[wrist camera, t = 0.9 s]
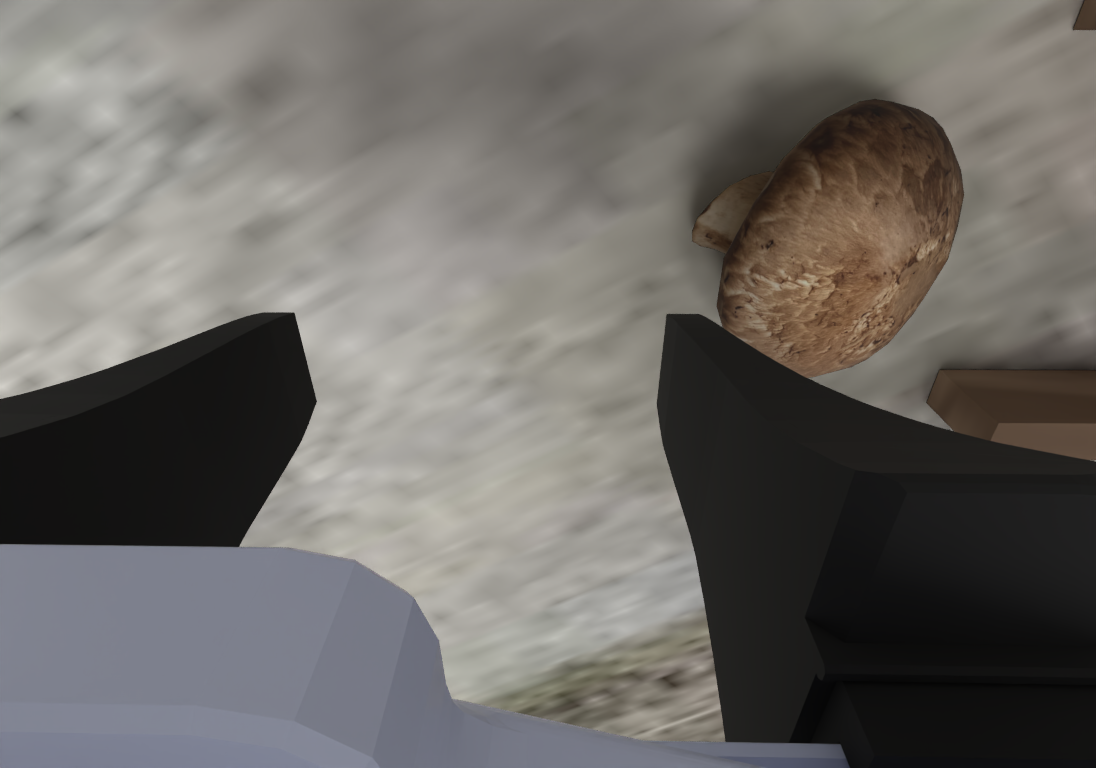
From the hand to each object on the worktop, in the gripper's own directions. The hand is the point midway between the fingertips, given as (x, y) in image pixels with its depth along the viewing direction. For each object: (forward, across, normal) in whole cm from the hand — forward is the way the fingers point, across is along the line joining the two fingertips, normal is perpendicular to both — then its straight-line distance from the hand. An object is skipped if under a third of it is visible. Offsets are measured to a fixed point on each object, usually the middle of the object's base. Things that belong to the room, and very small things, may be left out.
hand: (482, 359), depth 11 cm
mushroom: (+10, -9, 0) cm, 14 cm away
